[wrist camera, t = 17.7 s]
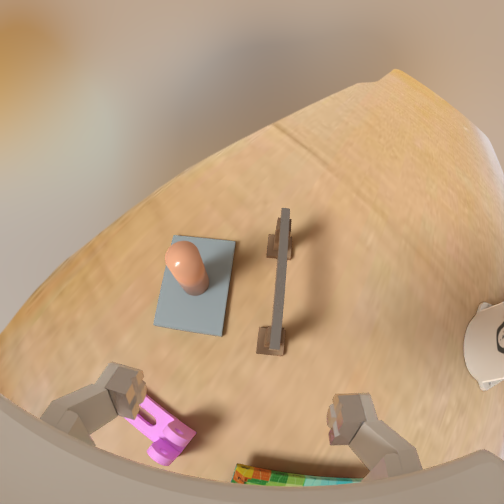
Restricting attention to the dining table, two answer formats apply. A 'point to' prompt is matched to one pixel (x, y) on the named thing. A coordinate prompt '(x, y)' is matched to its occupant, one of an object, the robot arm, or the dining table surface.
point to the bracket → (163, 433)
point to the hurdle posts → (266, 332)
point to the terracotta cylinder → (187, 267)
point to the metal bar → (280, 281)
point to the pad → (202, 306)
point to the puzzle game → (283, 478)
